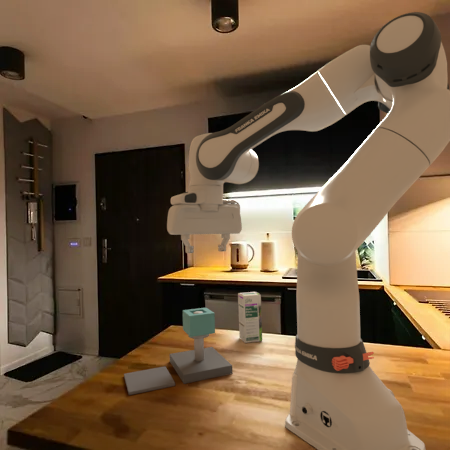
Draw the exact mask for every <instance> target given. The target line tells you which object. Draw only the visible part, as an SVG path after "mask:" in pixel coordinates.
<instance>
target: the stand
mask: <svg viewBox="0 0 450 450" xmlns="http://www.w3.org/2000/svg"><path fill="white" fill-rule="evenodd" d="M198 313H203V312H202V311H196V312H194V314H198ZM187 337H188V338H190V339H193V348H194V349H193V350H185V351H184V350H183V351H178V352H174V353H169V363H170V364H171V366H172V367H173V369H174V371H175V372H176V373H177V375H178V376H179V379H180V380H181V381H182V383H183V384H184V385H185V384H188V383H189V384H190V383H194V382H199V381H203V380H209V379H214V378H218V377H223V376H228V375H232V374H233V364H232V363H231V362H230V361H229V360H227V359H226V358H225V357H224V356H223V355H222V354H220V353H219V352H218V350H217V349H215V348H214V347H213V346H208V347H205V341H204V340H205V339H206V338H208V337H210V334H207V335H200V336H193V337H190V336H189V335H188V334H187Z"/></svg>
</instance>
